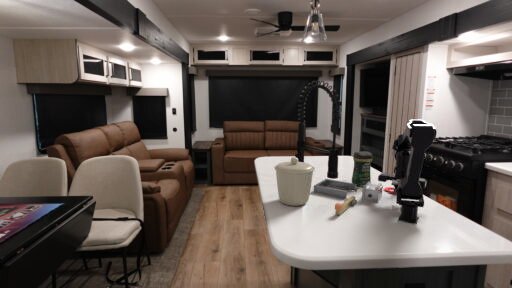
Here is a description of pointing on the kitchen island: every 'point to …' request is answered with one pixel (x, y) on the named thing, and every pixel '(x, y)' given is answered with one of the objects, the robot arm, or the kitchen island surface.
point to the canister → (294, 181)
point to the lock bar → (343, 205)
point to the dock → (325, 190)
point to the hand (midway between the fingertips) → (400, 198)
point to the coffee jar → (361, 168)
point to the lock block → (372, 192)
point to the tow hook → (390, 190)
